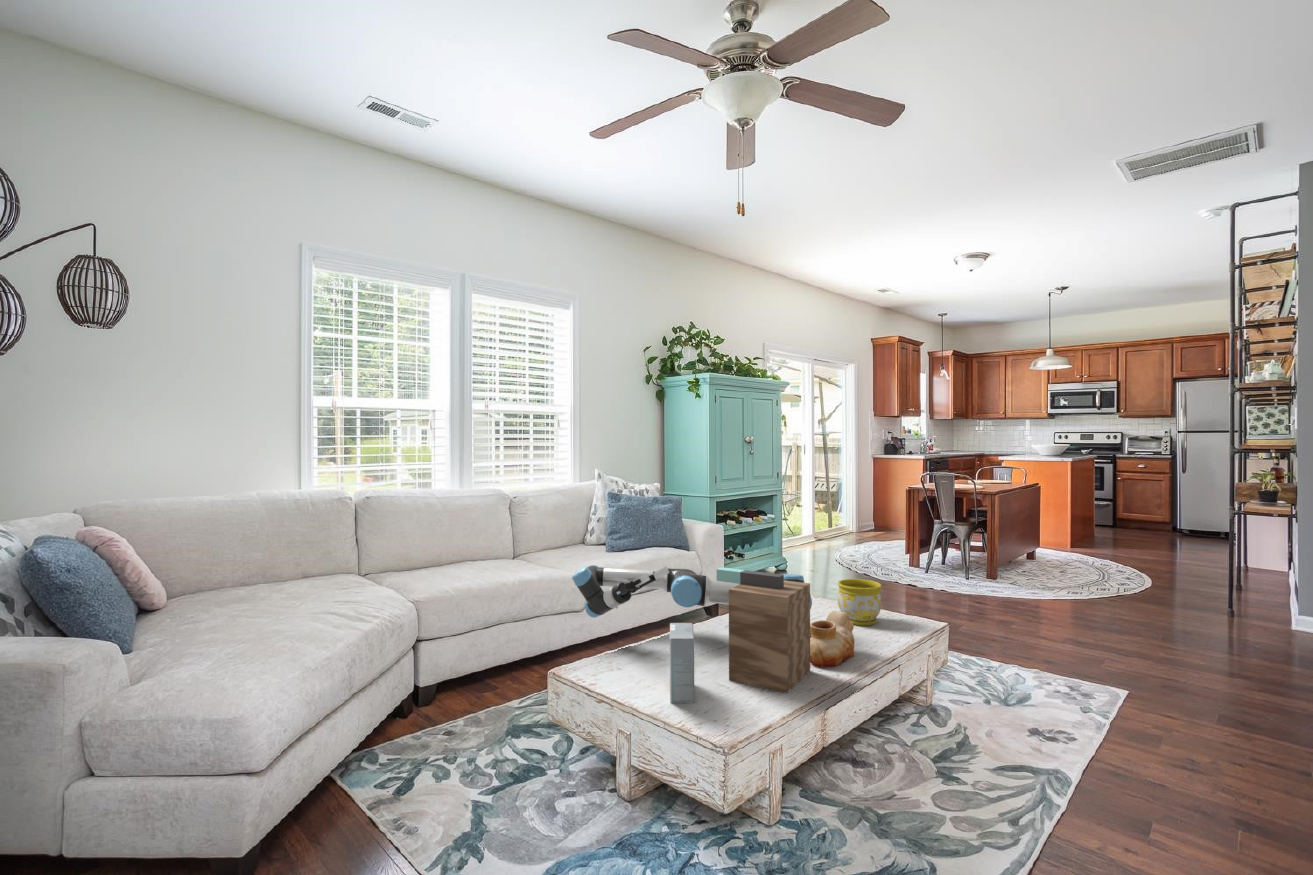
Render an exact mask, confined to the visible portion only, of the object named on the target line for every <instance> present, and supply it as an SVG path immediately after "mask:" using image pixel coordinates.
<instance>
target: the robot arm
mask: <svg viewBox="0 0 1313 875" xmlns="http://www.w3.org/2000/svg"><path fill="white" fill-rule="evenodd" d="M781 574H782V575H784V580H787V581H795V582H803V583H805V578H804V575H803V574H802V575H801V574H796V573H795V574H793V573H785V574H784V573H781ZM571 579H572V581H573V582H574V584H575V586H576V587H577V588H578V590H579V592H580V593H581V595H582V596H583V597H584V598H583V599H584V600H585V601H586V602H585V604H584V609H585V613H586V614H587V615H588V616H589V617H591V618H599V617H600V616H602V615H603V616H604V614H606V613H608V612H610V611H612V610H613V609H618V608H619V606H621V605H623V604H624V603H627V602H628V601H630V600H631V598H632V594H635V593H636V592H637V591H638V590H641V589H647V590H649V589H650V590H664V592H665V593H670V594H671V597H672V599H673V601H674V602H675V603H676V604H677V605H678V606H679V607H682V608H692V607H695V606H699V607H705V606H707V605H708V604H710V603H711V604H721V605H722V604H723V605H729V589H731V588H733V587H735V586H737V585H739V584H737V583H729V582H722V581H717V580H711V579H710V577H709V576H708V575H702V574H697V573H696V572H695V571H693V570H691V569H687V568H668V566H664V567H662V568H661V569H659V570H657V569H654V570H653V569H639V568H638V569H636V568H634V569H633V568H619V567H618V568H617V567H616V568H615V567H599V566H598V565H595V564H592V565H589V566H587V567H586V566H584V567H582V568H580V569H579V570H577V572H575V573H574V574H572V577H571ZM602 587H609V588H608V589H606V590H603V588H602ZM812 605H813V599H812V596H811V594H810V610H811V609H812Z"/></svg>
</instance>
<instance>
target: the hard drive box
mask: <svg viewBox="0 0 1313 875" xmlns="http://www.w3.org/2000/svg"><path fill="white" fill-rule="evenodd" d="M669 693H670V694H669V696H670V699H669V701H670V703H671V704H694V703H695V634H694V624H693V623H692V622H670V623H669Z"/></svg>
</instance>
